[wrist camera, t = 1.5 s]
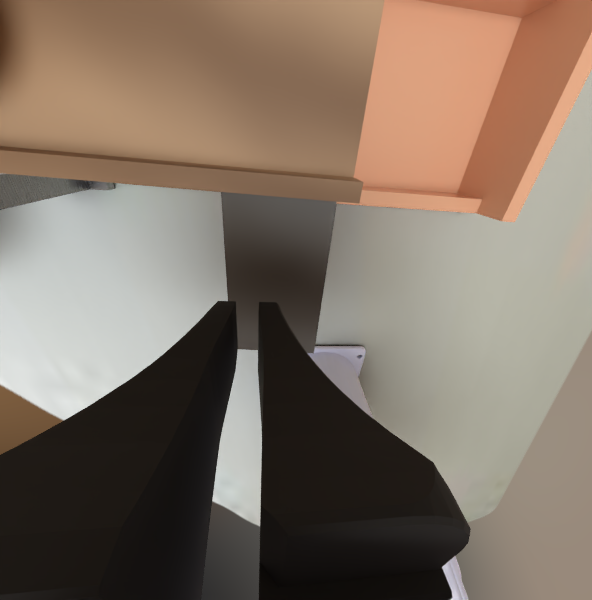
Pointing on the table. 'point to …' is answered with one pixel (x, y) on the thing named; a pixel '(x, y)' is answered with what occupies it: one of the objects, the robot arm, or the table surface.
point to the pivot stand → (41, 188)
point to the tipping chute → (203, 120)
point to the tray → (469, 101)
